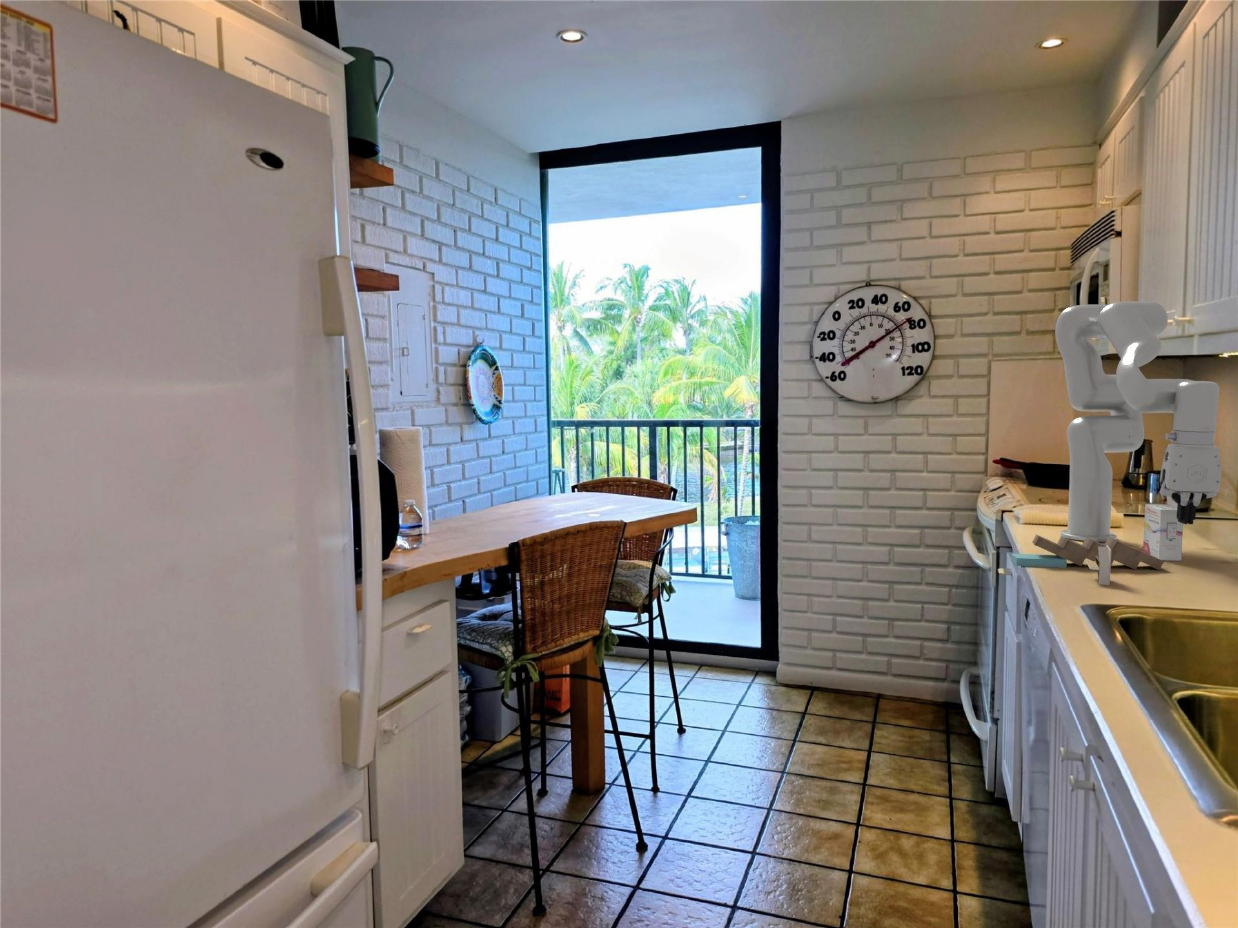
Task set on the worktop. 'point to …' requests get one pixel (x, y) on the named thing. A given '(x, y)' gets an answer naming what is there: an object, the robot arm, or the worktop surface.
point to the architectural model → (1102, 565)
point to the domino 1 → (1038, 560)
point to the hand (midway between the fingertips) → (1185, 522)
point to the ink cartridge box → (1163, 531)
